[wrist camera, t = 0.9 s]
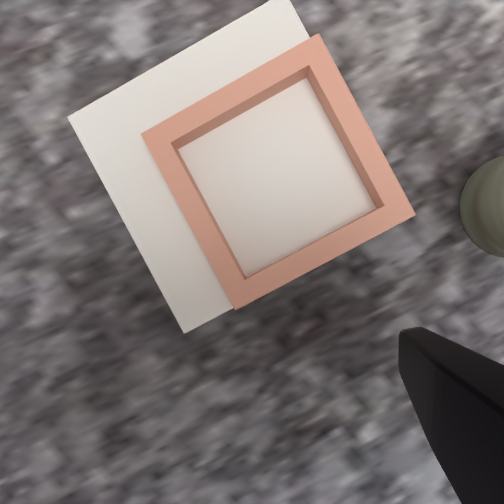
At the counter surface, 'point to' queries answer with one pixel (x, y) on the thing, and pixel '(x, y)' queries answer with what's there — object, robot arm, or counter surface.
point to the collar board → (240, 164)
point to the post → (485, 207)
